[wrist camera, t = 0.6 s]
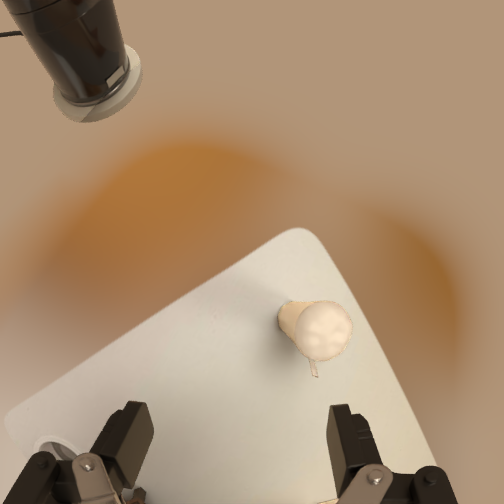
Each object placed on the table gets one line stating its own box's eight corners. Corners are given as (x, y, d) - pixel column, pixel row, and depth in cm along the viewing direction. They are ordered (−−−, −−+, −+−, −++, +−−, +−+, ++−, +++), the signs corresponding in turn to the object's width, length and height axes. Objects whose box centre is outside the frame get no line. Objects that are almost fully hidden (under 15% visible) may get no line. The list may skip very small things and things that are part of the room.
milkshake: (259, 337, 30) (286, 365, 20) (282, 286, 30) (320, 292, 20) (299, 354, 30) (341, 386, 20) (322, 305, 31) (373, 317, 21)
